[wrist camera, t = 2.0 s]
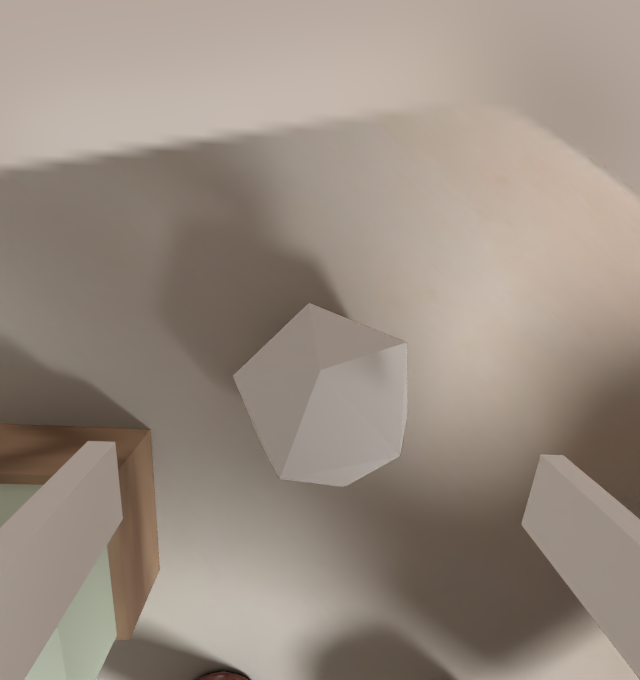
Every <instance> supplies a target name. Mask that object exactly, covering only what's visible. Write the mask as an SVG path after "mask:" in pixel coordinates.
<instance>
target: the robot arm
mask: <svg viewBox="0 0 640 680" xmlns="http://www.w3.org/2000/svg"><path fill="white" fill-rule="evenodd" d="M122 520H123V515H122V504H121V494H120V484H119V474H118V464H117V454H116V444H115V442H106V441H87V442H86V443H85V444H84V445H83V446H82V447H81V448H80V449H79V450H78V451H77V452H76V453H75V454H74V455H73V456H72V457H71V458H70V459H69V460H68V461H67V462H66V463H65V464H64V465H63V466H62V467H61V468H60V469H59V470H58V471H57V472H56V473H55V474H54V475H53V476H52V477H51V478H50V479H49V480H48V481H47V482H46V483H45V484H44V485H43V486H42V487H41V488H40V489H39V490H38V491H37V492H36V493H35V494H34V495H33V496H32V497H31V498H30V499H29V500H28V501H27V502H26V503H25V504H24V505H23V506H22V507H21V508H20V509H19V510H18V511H17V512H16V513H15V514H14V515H13V516H12V517H11V518H10V519H9V520H8V521H7V522H6V523H5V524H4V525H3V526H1V527H0V680H24V679H25V678H26V676H27V674H28V673H29V671H30V670H31V668H32V666H33V665H34V663H35V661H36V660H37V658H38V656H39V655H40V653H41V652H42V650H43V648H44V647H45V645H46V643H47V642H48V640H49V639H50V637H51V635H52V634H53V632H54V630H55V629H56V627H57V626H58V624H59V622H60V621H61V619H62V617H63V616H64V614H65V612H66V611H67V609H68V608H69V606H70V604H71V603H72V601H73V599H74V598H75V596H76V595H77V593H78V591H79V590H80V588H81V586H82V585H83V583H84V581H85V580H86V578H87V577H88V575H89V573H90V572H91V570H92V568H93V567H94V565H95V564H96V562H97V560H98V559H99V557H100V555H101V554H102V552H103V551H104V549H105V547H106V546H107V544H108V542H109V541H110V539H111V537H112V536H113V534H114V533H115V531H116V529H117V528H118V526H119V524H120V523H121V521H122ZM521 525H522V526H523V528H524V529H525V530H526V532H527V533H528V534H529V535H530V537H531V538H532V539H533V541H534V542H535V543H536V545H537V546H538V547H539V549H540V550H541V551H542V552H543V554H544V555H545V556H546V558H547V559H548V560H549V562H550V563H551V564H552V566H553V567H554V568H555V569H556V571H557V572H558V573H559V575H560V576H561V577H562V579H563V580H564V581H565V583H566V584H567V585H568V586H569V588H570V589H571V590H572V592H573V593H574V594H575V596H576V597H577V598H578V600H579V601H580V602H581V603H582V605H583V606H584V607H585V609H586V610H587V611H588V613H589V614H590V615H591V617H592V618H593V619H594V620H595V622H596V623H597V624H598V626H599V627H600V628H601V630H602V631H603V632H604V634H605V635H606V636H607V637H608V639H609V640H610V641H611V643H612V644H613V645H614V647H615V648H616V649H617V651H618V652H619V653H620V654H621V656H622V657H623V658H624V660H625V661H626V662H627V664H628V665H629V666H630V668H631V669H632V670H633V671H634V673H635V674H636V675H637V677H638V678H639V679H640V519H639V518H638V517H637V516H635V515H634V514H633V513H632V512H631V511H629V510H628V509H627V508H626V507H625V506H623V505H622V504H621V503H620V502H619V501H617V500H616V499H615V498H614V497H613V496H611V495H610V494H609V493H608V492H607V491H606V490H604V489H603V488H602V487H601V486H600V485H598V484H597V483H596V482H595V481H594V480H592V479H591V478H590V477H589V476H588V475H586V474H585V473H584V472H583V471H582V470H580V469H579V468H578V467H577V466H576V465H574V464H573V463H572V462H571V461H570V460H569V459H567V458H566V457H565V456H564V455H540V459H539V463H538V466H537V470H536V473H535V477H534V481H533V484H532V488H531V491H530V495H529V498H528V502H527V506H526V509H525V513H524V516H523V520H522V524H521Z"/></svg>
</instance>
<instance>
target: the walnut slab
mask: <svg viewBox="0 0 640 680" xmlns="http://www.w3.org/2000/svg"><path fill="white" fill-rule="evenodd" d="M87 441H106V442H115V444H116V454H117V464H118V474H119V484H120V494H121V504H122V515H123V520H122V521H121V523H120V524H119V526H118V528H117V529H116V531H115V533H114V534H113V536H112V537H111V539H110V541H109V542H108V544H107V550H108V559H109V568H110V577H111V586H112V595H113V604H114V613H115V622H116V631H117V636H116V638H115V640H129V639H130V637H131V635H132V632H133V630H134V628H135V625H136V623H137V621H138V618H139V616H140V614H141V612H142V609H143V607H144V605H145V602H146V600H147V598H148V595H149V593H150V591H151V588H152V586H153V584H154V581H155V579H156V577H157V574H158V572H159V570H160V566H159V550H158V535H157V520H156V504H155V489H154V473H153V458H152V443H151V429H129V428H101V427H74V426H46V425H19V424H0V484H32V485H44V484H45V483H46V482H47V481H48V480H49V479H50V478H51V477H52V476H53V475H54V474H55V473H56V472H57V471H58V470H59V469H60V468H61V467H62V466H63V465H64V464H65V463H66V462H67V461H68V460H69V459H70V458H71V457H72V456H73V455H74V454H75V453H76V452H77V451H78V450H79V449H80V448H81V447H82V446H83V445H84V444H85V443H86V442H87Z"/></svg>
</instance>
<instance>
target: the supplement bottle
mask: <svg viewBox="0 0 640 680" xmlns="http://www.w3.org/2000/svg"><path fill="white" fill-rule="evenodd" d="M198 680H248V679H246V678H245V677H243V676H240V675H238V674H234V673H230V672H224V671H223V672H218V673H212V674H208V675H205V676H203V677H201V678H200V679H198Z"/></svg>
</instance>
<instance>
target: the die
mask: <svg viewBox="0 0 640 680" xmlns="http://www.w3.org/2000/svg"><path fill="white" fill-rule="evenodd" d="M233 378H234V381H235V383H236V385H237V388H238V390H239V393H240V395H241V397H242V400H243V402H244V405H245V407H246V410H247V412H248V414H249V417H250V419H251V422H252V424H253V427H254V429H255V431H256V434H257V436H258V439H259V441H260V443H261V445H262V447H263V449H264V451H265V453H266V455H267V457H268V458H269V460H270V462H271V464H272V466H273V468H274V470H275V472H276V473H277V475H278V477H279V479H281V480H290V481H298V482H307V483H315V484H324V485H333V486H341V487H345V486H347V485H349V484H351V483H353V482H354V481H356V480H358V479H360V478H362V477H364V476H365V475H367V474H369V473H371V472H373V471H374V470H376V469H378V468H380V467H382V466H383V465H385V464H387V463H389V462H391V461H392V460H394V459H396V458H398V457H400V453H401V448H402V442H403V437H404V431H405V426H406V421H407V415H408V411H407V342H404V341H402V340H399V339H397V338H394V337H392V336H390V335H387V334H385V333H382V332H380V331H377V330H375V329H372V328H370V327H367V326H365V325H362V324H360V323H358V322H355V321H353V320H350V319H348V318H345V317H343V316H340V315H338V314H335V313H333V312H331V311H328V310H326V309H323V308H321V307H318V306H316V305H313V304H311V303H308V304H307V305H306V306H305V307H304V308H303V309H302V310H301V311H300V312H299V313H298V314H297V315H296V316H295V317H294V318H293V319H291V320H290V321H289V322H288V323H287V324H286V325H285V326H284V327H283V328H282V329H281V330H280V331H279V332H278V333H277V334H276V335H275V336H274V337H273V338H272V339H271V340H270V341H268V342H267V343H266V344H265V345H264V346H263V347H262V348H261V349H260V350H259V351H258V352H257V353H256V354H255V355H254V356H253V357H252V358H251V359H250V360H249V361H248V362H247V363H246V364H244V365H243V366H242V367H241V368H240V369H239V370H238V371H237V372H236V373H235V374H234V375H233Z"/></svg>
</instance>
